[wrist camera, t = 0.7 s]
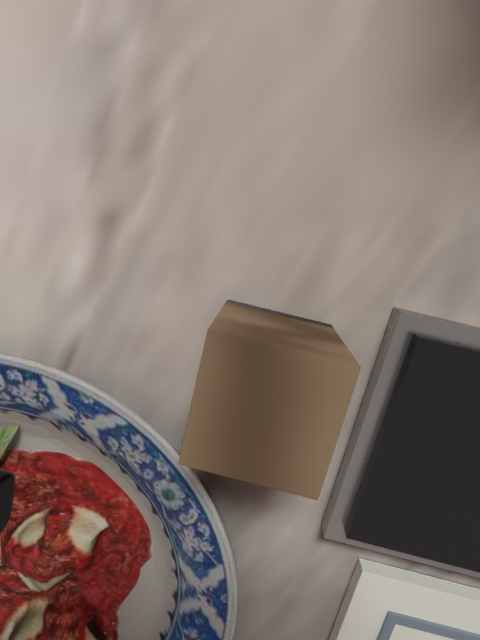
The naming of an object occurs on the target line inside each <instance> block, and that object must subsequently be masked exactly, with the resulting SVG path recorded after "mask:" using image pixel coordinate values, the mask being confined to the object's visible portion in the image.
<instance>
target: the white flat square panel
mask: <svg viewBox="0 0 480 640" xmlns="http://www.w3.org/2000/svg"><path fill="white" fill-rule="evenodd" d="M329 640H480V589H477V588H473V587H469V586H465V585H462V584H458V583H454V582H450V581H446V580H442V579H438V578H435V577H431V576H427V575H423V574H419V573H415V572H411V571H408V570H404V569H400V568H396V567H392V566H388V565H384V564H381V563H377V562H373V561H369V560H365V559H361V558H359V559H358V562H357V565H356V567H355V570H354V573H353V575H352V578H351V581H350V583H349V586H348V589H347V591H346V594H345V597H344V599H343V602H342V605H341V608H340V610H339V613H338V616H337V618H336V621H335V624H334V626H333V629H332V632H331V634H330V637H329Z"/></svg>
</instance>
